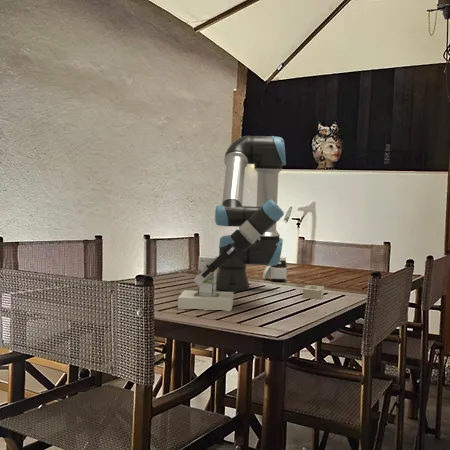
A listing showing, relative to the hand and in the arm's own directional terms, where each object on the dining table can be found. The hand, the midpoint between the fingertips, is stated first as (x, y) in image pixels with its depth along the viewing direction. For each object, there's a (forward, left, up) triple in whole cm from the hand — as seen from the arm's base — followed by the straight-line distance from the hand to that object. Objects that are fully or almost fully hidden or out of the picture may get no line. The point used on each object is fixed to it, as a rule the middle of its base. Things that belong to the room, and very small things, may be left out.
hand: (197, 281), depth 190 cm
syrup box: (+3, +2, -6) cm, 7 cm away
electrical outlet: (+12, +55, -9) cm, 57 cm away
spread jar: (-24, +76, -9) cm, 80 cm away
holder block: (+3, +3, -9) cm, 9 cm away
